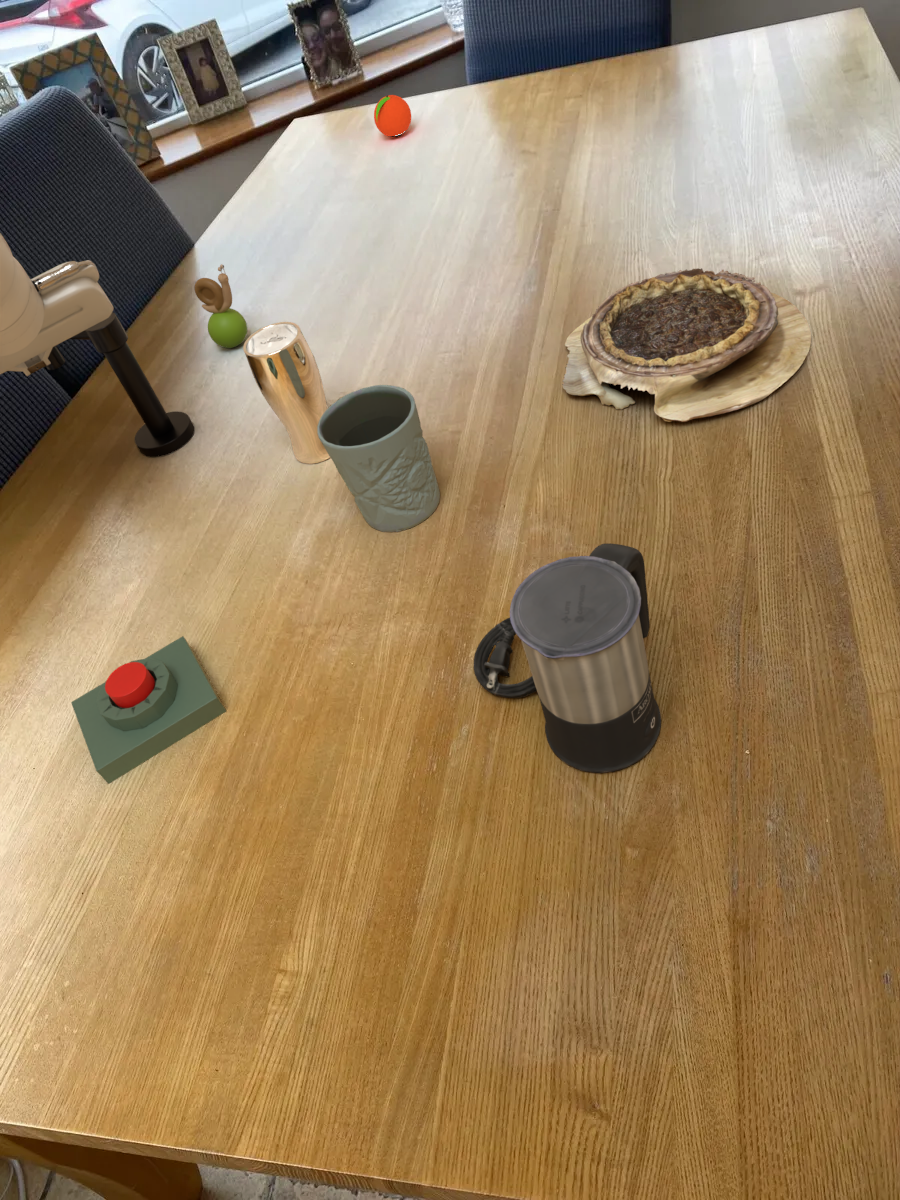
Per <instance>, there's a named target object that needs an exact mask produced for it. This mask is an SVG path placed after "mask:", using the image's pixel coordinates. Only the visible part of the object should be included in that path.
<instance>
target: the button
mask: <svg viewBox="0 0 900 1200" xmlns="http://www.w3.org/2000/svg"><path fill="white" fill-rule="evenodd" d="M129 662H130V663H129ZM129 662H127V663H123V664H122V665H120V666H117V668H115V669H114V670H113V671H112V672H111V673H110V674H109V675H108V677H107V679H106V680H107V681H106V680H105V681H106V684H105V690H106V693H107V694H108V695H109V696H110V698H111V699H112V700H113V701H114V702H115V704H116V705H117V706H119V707H122V708H130V707H134V706H135V705H137V704H139V703H140V702H142V701H144V700H145V699H146V698H147V697H148V696H149V695H150V693H151V692H152V691H153V690H154V687H155V680H154V678H153V676H152V675H151V674H150V672H149V671H148V670H147V668H146V667H145V666H144V665H143V664H141V663H139V662H131V661H129Z"/></svg>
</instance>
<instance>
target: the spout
mask: <svg viewBox="0 0 900 1200" xmlns="http://www.w3.org/2000/svg"><path fill="white" fill-rule="evenodd" d="M128 339H129V336H128V334H127V331H126V330H125V328H124V326H123V325H122V323H121V321H120V320H119V317H118V316H117V314H116V313H115V312H112V313H111V315H110V316H109V318H107V319H105V320H103V321H101V322H100V323H98V324H96V325H94V326H92V327H90V328H88V329H86V330H84V331H82V332H80V333H79V334H77V335H75V336H73V337H71V338H69V339H68V340H76V341H77V340H79V341H80V340H82V341H83V340H85V341H87V340H88V341H90V342H91V344H92V345H93V347H94V349H95V350H96V352H98V353H100V354H104V353H108V352H111V351H114V350H116V349H118V348H120V347H121V346H122V345H124V344H125V343H126V342H128ZM48 359H49V361H50V362H51V364H49V365H47V366H45V367H46V368H47V370H48V371H54V370H57V369H59V368H61V367H63V366H64V364H65V363H66V359H65V358H64V356H63V354H62V353H61V351H60V350H59V348H58V346H57V345H56V346H54V347H52V350H51V352H50V355H49V357H48Z"/></svg>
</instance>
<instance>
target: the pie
mask: <svg viewBox="0 0 900 1200" xmlns="http://www.w3.org/2000/svg"><path fill="white" fill-rule="evenodd" d="M755 278H756V277H754V276H753V277H750V276H749V277H747V276H746V275H745V274H742V273H739V272H734V273H732V272H730V271H728V270H724V269H721V271H719V272H718V273H715V271H713V270H703V268H692V269H689V270H688V269H685V270H682V269H680V270H678V271H672V272H665V273H660V274H658V275H656V276H653V277H650V278H645V279H643V280H641V281H640V282H639V281H638V280H637V281H636V282H632V283H629V284H628V285H625V286H623V287H621V288H619V289H618V290H616V291H615V292H613V293H611V294H610V295H608V296H607V297H606V298H605V299H604V300H603V301H602V302H601V303H600V305H598V307H597V308H596V309H595V312H594V313H593V314H592V316H590V317H588V318H587V319H586V320H585V321H584V322H582V323H581V324H580V325H579V326H578V327H576V328H575V329H574V330H573V331H572V332H571V333H569V335H568V336H567V338H566V340H565V342H564V346H565V347H567V350H568V351H569V352H568V354H567V355H566V356H567V358H568V360H567V363H566V366H565V374H564V376H563V379H562V384H561V385H562V388H563V389H564V391H565V392H566V394H569V395H572V396H580V397H585V396H590V395H591V396H592V395H596V396H597V397H598V398H599V400H600V403H601V404H600V405H602V406H604V405H605V406H613V407H614V408H615V410H623V409H625V408H628V407H630V405H634V404H636V401H635V400H634V399H633V397H631V396H629V395H627V394H624V393H622V392H621V391H619V390H618V389H615V388H613V387H610V385H611V384H612V385H613V386H616V385H620V389H623V388H625V387H627V388H628V390H630V389H631V388H632V390H633V391H635V390H636V389H637V391H642V392H643V393H644V392H645V391H647V393H648V394H650V395H654V405H653V411H654V414H655V415H656V416H658V417H659V418H661V419H662V420H663V421H664V422H669V423H670V422H675V421H676V422H680V423H687V422H689V421H691V420H695V419H702V418H707V417H713V416H718V415H723V414H726V413H730V412H735V411H737V410H740V409H744V408H746V407H749V406H752V405H754V404H756V403H758V402H760V401H762V400H764V399H766V398H767V397H768V396H769V395H771V394H772V393H773V392H775V391H776V390H777V389H779V387H781V386H782V385H783V384H784V383H786V382H787V381H788V380H789V379H790V378H791V377H792V376H794V375H795V374H796V372H797V371H798V370H799V369H800V368H801V366H802V365H803V363H804V362H805V359H806V358H807V356H808V354H809V352H810V349H811V345H812V344H811V343H812V333H811V328H810V326H809V322H808V320H807V319H806V317H805V316H804V314H803V313H802V312H801V311H800V309H799V308H798V307H797V306H796V305H794V304H793V303H792V302H791V301H790V300H788V299H786V298H784V297H783V296H781V295H778V294H776V293H773V292H771V290H770V289H769V288H768V287H767V286H765V285H764V284H762V283H761V282H760V281H759V282H756V280H755ZM755 282H756V283H755ZM609 384H610V385H609Z"/></svg>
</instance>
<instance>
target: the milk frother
mask: <svg viewBox="0 0 900 1200" xmlns="http://www.w3.org/2000/svg"><path fill="white" fill-rule="evenodd" d="M509 607H510V608H509V617H507V618H506V619H505V618H504V619H503V620H502V621H500V622H499V623H497V624H495V626H493V628H491V629H490V630H489V631H488V632H487V633H486V634H484V636H483V637H482V640H481V641H480V642H479V643H478V645H477V647H476V650H475V652H474V655H473V656H474V657H473V673H474V676H475V678H476V680H477V682H478V684H479V685H480V686H481V687H482V688H483V689H484V690H485V691H487V692H488V693H489V694H492V695H493V696H496V697H501V698H506V699H520V698H525V697H527V696H530V695H532V694H534V693H536V692H537V696H538V699H539V702H540V705H541V709H542V713H543V717H544V721H545V723H544V724H545V725H544V734H545V737H546V741H547V743H548V745H549V747H550V749H551V751H552V752H553V753H554V755H555V756H556V757H557V758H558V759H559V760H560V761H562V762H563V763H565V764H566V765H567V766H569V767H571V768H574V769H576V770H579V771H581V772H587V773H593V774H594V773H596V774H603V773H612V772H617V771H620V770H624V769H627V768H629V767H630V766H633V765H635V764H636V763H638V762H639V761H641V760H642V759H644V757H645V756H647V754H649V752H650V751H651V750H652V749H653V747H654V746H655V744H656V742H657V741H658V737H659V735H660V732H661V728H662V716H661V715H662V714H661V710H660V707H659V704H658V702H657V700H656V698H655V695H654V691H653V686H652V680H651V676H650V675H651V674H650V669H649V664H648V663H649V662H648V657H647V652H646V646H645V641H644V639H646V638H647V637H648V636H649V632H650V627H651V624H650V612H649V601H648V591H647V580H646V567H645V559H644V556H643V553H642V552H641V551H640V550H639V549H637V548H636V547H632V546H629V545H624V544H618V543H612V542H611V543H609V542H608V543H602V544H599V545H597V546H596V547H595V548H594V549H593V550H592V551H591V553H590V554H589V555H584V556H583V555H578V556H568V557H564V558H560V559H559V558H558V559H557V560H555V561H552V562H549V563H547V564H545V565H543V566H541V567H539V568H538V569H536V570H534V571H533V572H531V573H530V574H529V575H528V576H527V577H525V579H524V580H523V581H522V582H521V583H520V584H519V586H518V587H517V588H516V589H515V591H514V594H513V596H512V599H511V603H510V606H509ZM515 635H516V636H517V637H518V638H519V640H520V642H521V645H522V649H523V651H524V654H525V657H526V660H527V663H528V667H529V670H530V673H531V676H530V677H528V678H526V679H525V680H522V681H520V682H517V683H512V684H510V683H502V682H499V677H500V676H502V677H505V678H510V675H511V674H510V672H509V668H510V661H511V654H512V653H513V650H514V649H512V648H513V647H512V644H513V642H514V641H515ZM489 657H490V658H489Z"/></svg>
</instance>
